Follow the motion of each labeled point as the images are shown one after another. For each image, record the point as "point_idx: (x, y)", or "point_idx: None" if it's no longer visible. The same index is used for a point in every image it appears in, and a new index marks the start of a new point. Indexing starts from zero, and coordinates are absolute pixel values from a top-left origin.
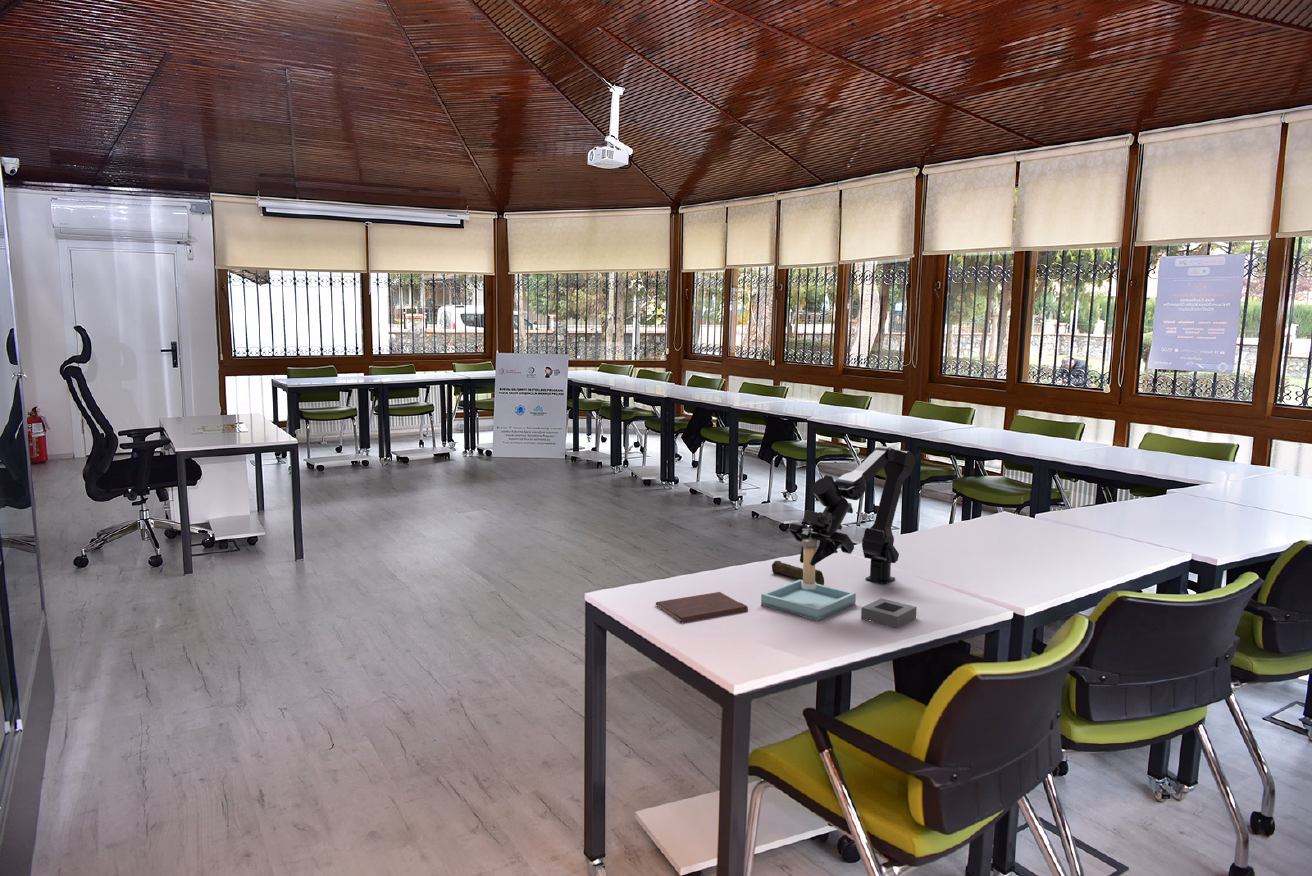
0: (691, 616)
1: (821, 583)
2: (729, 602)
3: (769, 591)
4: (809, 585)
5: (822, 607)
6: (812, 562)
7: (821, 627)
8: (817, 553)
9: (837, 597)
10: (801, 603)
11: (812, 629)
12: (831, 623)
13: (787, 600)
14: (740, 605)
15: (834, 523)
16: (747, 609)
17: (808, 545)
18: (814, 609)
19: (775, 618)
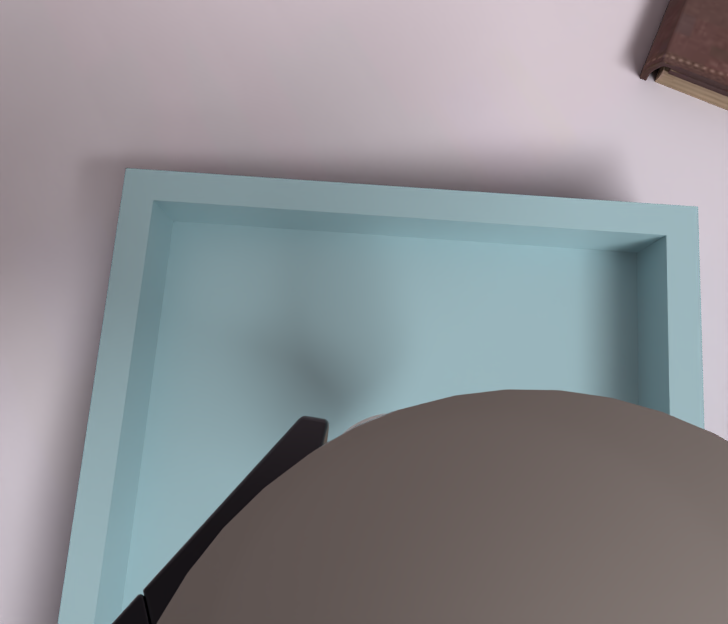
0: None
1: None
2: None
3: (694, 312)
4: (351, 428)
5: (121, 231)
6: (287, 439)
7: (89, 117)
8: (178, 585)
9: None
10: (399, 380)
11: (122, 53)
12: (65, 221)
13: (437, 205)
14: (708, 43)
15: None
16: (646, 67)
17: (377, 417)
18: (164, 172)
19: (415, 75)
